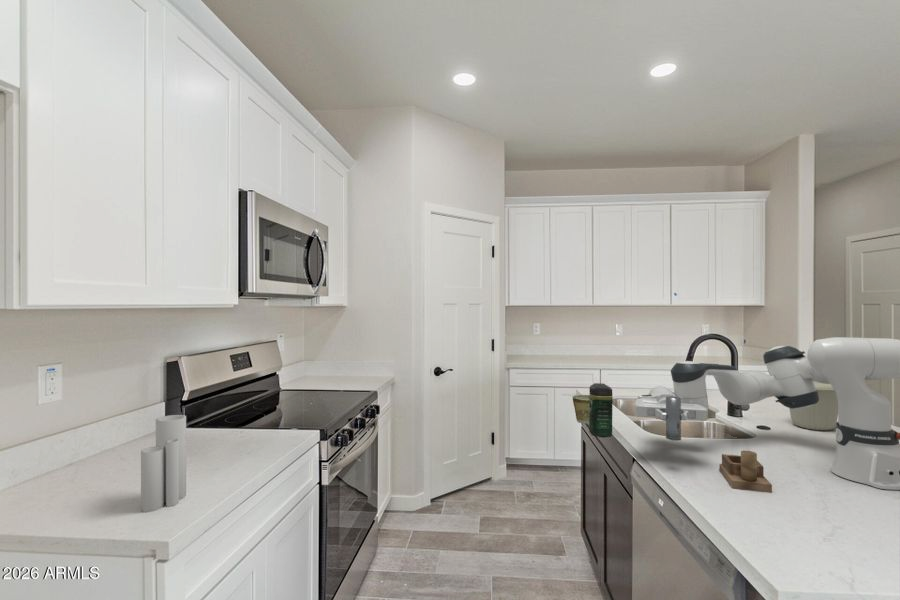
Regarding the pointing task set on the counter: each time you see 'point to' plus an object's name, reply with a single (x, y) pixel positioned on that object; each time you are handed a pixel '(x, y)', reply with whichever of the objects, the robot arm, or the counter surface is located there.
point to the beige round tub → (818, 410)
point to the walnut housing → (744, 472)
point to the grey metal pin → (673, 418)
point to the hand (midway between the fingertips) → (673, 417)
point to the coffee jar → (600, 410)
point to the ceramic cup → (582, 408)
